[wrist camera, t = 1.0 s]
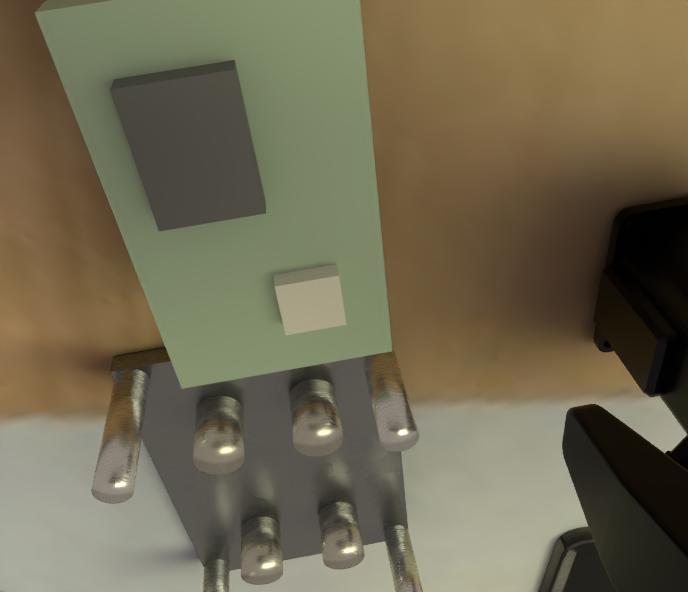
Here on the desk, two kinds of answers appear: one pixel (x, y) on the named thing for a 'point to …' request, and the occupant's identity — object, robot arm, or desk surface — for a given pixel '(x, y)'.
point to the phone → (576, 565)
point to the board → (235, 173)
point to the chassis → (269, 462)
